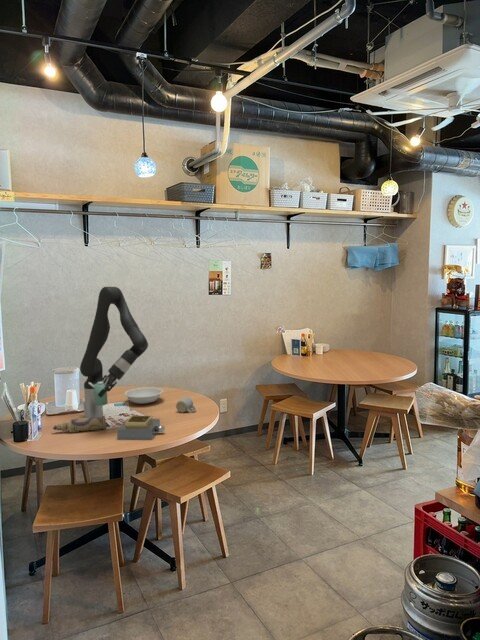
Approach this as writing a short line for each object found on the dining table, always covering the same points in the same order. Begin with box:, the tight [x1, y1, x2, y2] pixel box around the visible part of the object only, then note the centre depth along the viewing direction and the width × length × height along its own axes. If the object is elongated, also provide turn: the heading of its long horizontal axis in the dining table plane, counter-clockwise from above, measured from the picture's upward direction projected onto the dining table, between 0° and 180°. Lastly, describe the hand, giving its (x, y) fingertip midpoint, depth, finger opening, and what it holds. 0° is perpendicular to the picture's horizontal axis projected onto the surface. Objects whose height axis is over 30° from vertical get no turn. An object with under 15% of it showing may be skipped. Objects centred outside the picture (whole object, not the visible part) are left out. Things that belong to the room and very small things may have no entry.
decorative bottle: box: [52, 415, 107, 433], centre depth 239 cm, size 26×8×7 cm, turn 104°
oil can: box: [88, 382, 108, 406], centre depth 232 cm, size 9×6×12 cm
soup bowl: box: [123, 386, 164, 405], centre depth 288 cm, size 24×24×7 cm
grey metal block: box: [116, 415, 166, 440], centre depth 232 cm, size 21×16×8 cm
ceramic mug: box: [175, 396, 197, 414], centre depth 268 cm, size 11×8×8 cm
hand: (97, 394), depth 232 cm, fingers closed on oil can, 6 cm apart
